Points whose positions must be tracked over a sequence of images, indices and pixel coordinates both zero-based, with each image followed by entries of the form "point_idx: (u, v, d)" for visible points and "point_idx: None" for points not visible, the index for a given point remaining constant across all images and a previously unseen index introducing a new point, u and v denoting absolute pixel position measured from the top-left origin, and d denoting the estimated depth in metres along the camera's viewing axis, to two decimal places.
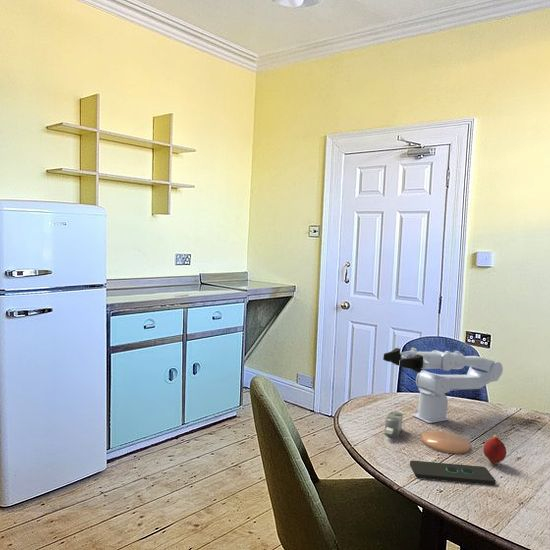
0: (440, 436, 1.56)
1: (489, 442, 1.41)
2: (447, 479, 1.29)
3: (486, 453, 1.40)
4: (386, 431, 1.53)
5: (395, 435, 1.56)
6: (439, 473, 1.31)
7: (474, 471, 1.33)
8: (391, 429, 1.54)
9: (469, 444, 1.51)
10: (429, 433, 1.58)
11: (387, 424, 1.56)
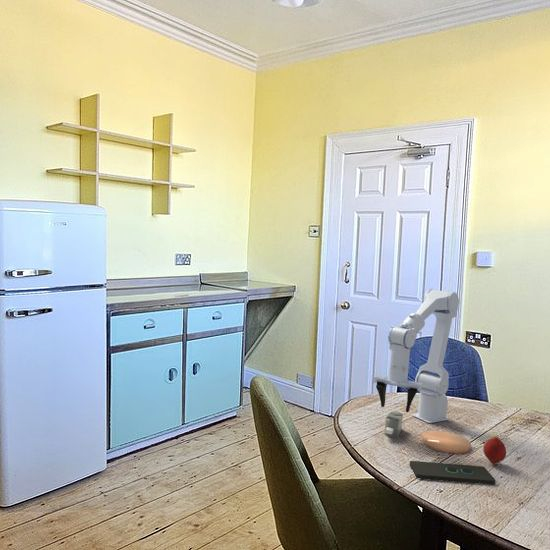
0: (440, 436, 1.56)
1: (489, 442, 1.41)
2: (447, 479, 1.29)
3: (486, 453, 1.40)
4: (386, 431, 1.53)
5: (395, 435, 1.56)
6: (439, 473, 1.30)
7: (473, 470, 1.34)
8: (391, 429, 1.54)
9: (469, 444, 1.51)
10: (429, 433, 1.58)
11: (387, 424, 1.56)
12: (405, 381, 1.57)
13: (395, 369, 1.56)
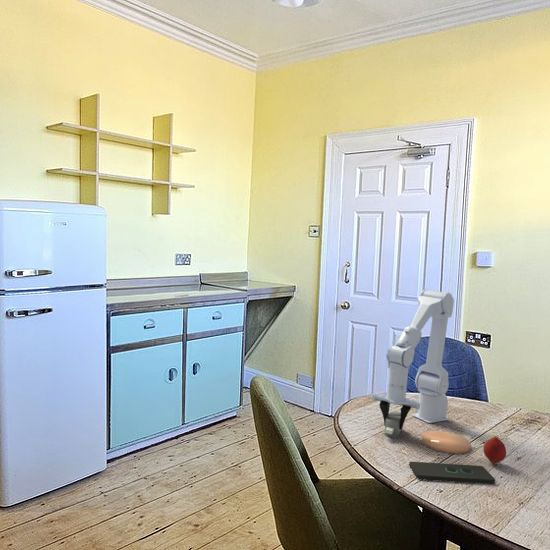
0: (440, 436, 1.56)
1: (489, 442, 1.41)
2: (448, 479, 1.29)
3: (486, 453, 1.40)
4: (386, 431, 1.53)
5: (395, 435, 1.56)
6: (440, 474, 1.30)
7: (473, 470, 1.34)
8: (391, 429, 1.54)
9: (469, 444, 1.51)
10: (429, 433, 1.58)
11: (387, 424, 1.56)
12: (403, 399, 1.57)
13: (393, 388, 1.57)
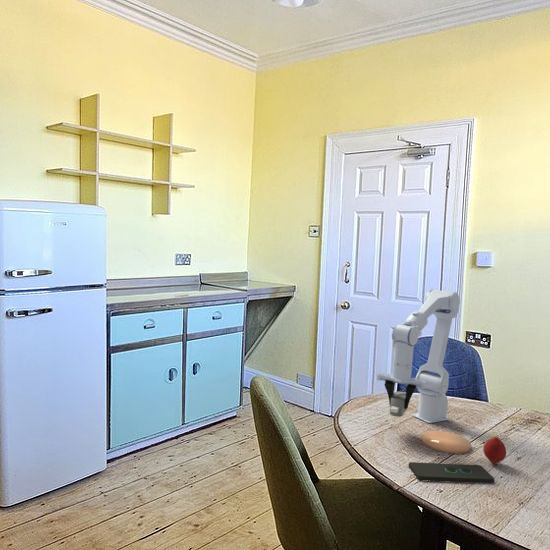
0: (440, 436, 1.56)
1: (489, 442, 1.41)
2: (448, 480, 1.29)
3: (486, 453, 1.40)
4: (391, 410, 1.52)
5: (400, 414, 1.55)
6: (440, 474, 1.30)
7: (471, 470, 1.34)
8: (396, 408, 1.53)
9: (469, 444, 1.51)
10: (429, 433, 1.58)
11: (392, 403, 1.55)
12: (409, 379, 1.56)
13: (399, 366, 1.56)
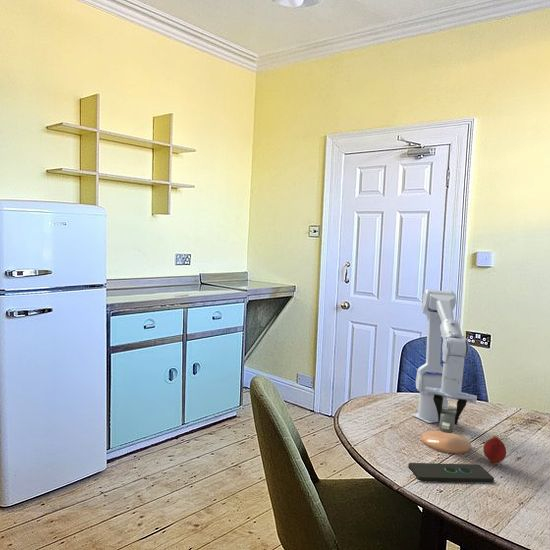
0: (440, 436, 1.56)
1: (489, 442, 1.41)
2: (449, 480, 1.29)
3: (486, 453, 1.40)
4: (442, 426, 1.46)
5: (451, 430, 1.49)
6: (440, 474, 1.30)
7: (471, 469, 1.34)
8: (448, 424, 1.47)
9: (469, 444, 1.51)
10: (429, 433, 1.58)
11: (443, 419, 1.49)
12: (459, 393, 1.50)
13: (449, 381, 1.50)
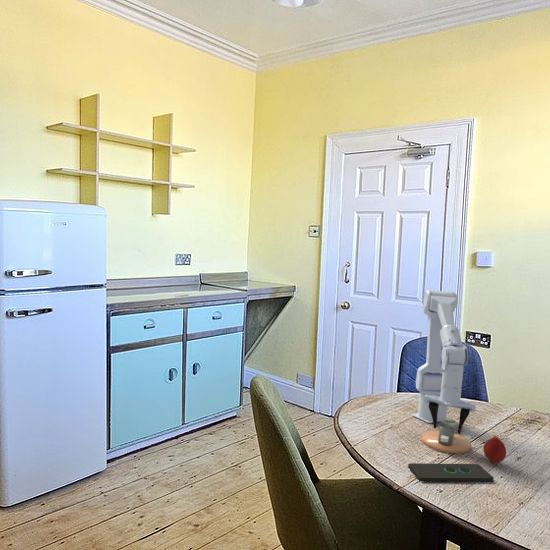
0: None
1: (489, 442, 1.41)
2: (449, 480, 1.28)
3: (486, 453, 1.40)
4: (441, 439, 1.47)
5: (450, 443, 1.49)
6: (440, 475, 1.30)
7: (470, 469, 1.34)
8: (446, 437, 1.47)
9: (469, 444, 1.51)
10: (429, 433, 1.58)
11: (441, 432, 1.49)
12: (458, 401, 1.50)
13: (448, 389, 1.50)
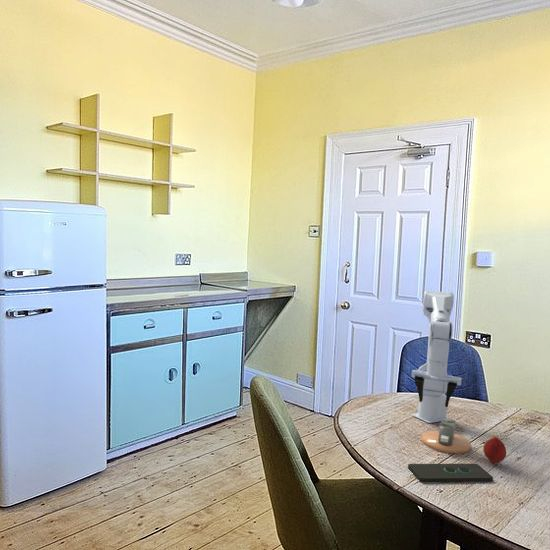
0: None
1: (489, 442, 1.41)
2: (449, 480, 1.28)
3: (486, 453, 1.40)
4: (441, 439, 1.47)
5: (450, 443, 1.49)
6: (441, 475, 1.30)
7: (469, 469, 1.34)
8: (446, 437, 1.47)
9: (469, 444, 1.51)
10: (429, 433, 1.58)
11: (441, 432, 1.49)
12: (444, 375, 1.55)
13: (434, 363, 1.55)
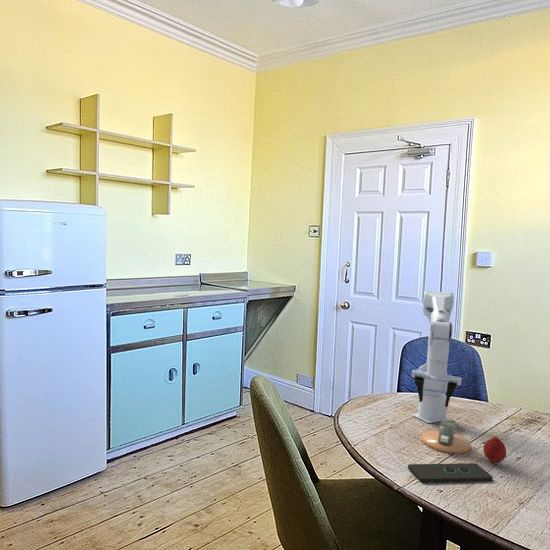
0: None
1: (489, 442, 1.41)
2: (450, 481, 1.28)
3: (486, 453, 1.40)
4: (441, 439, 1.47)
5: (450, 443, 1.49)
6: (441, 475, 1.29)
7: (469, 468, 1.35)
8: (446, 437, 1.47)
9: (469, 444, 1.51)
10: (429, 433, 1.58)
11: (441, 432, 1.49)
12: (444, 375, 1.55)
13: (434, 363, 1.55)
